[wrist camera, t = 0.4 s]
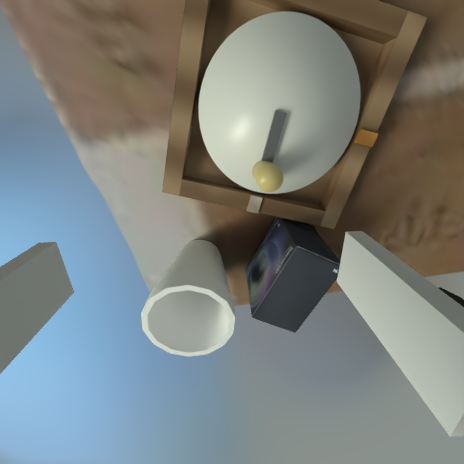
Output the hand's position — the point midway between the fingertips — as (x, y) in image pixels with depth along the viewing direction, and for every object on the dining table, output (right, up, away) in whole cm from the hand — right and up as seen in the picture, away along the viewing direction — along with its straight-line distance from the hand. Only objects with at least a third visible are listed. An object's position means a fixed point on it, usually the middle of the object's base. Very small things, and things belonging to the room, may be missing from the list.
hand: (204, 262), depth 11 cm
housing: (+6, +15, +17) cm, 24 cm away
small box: (+8, -1, +25) cm, 26 cm away
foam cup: (-3, -2, +25) cm, 25 cm away
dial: (+6, +15, +16) cm, 22 cm away
